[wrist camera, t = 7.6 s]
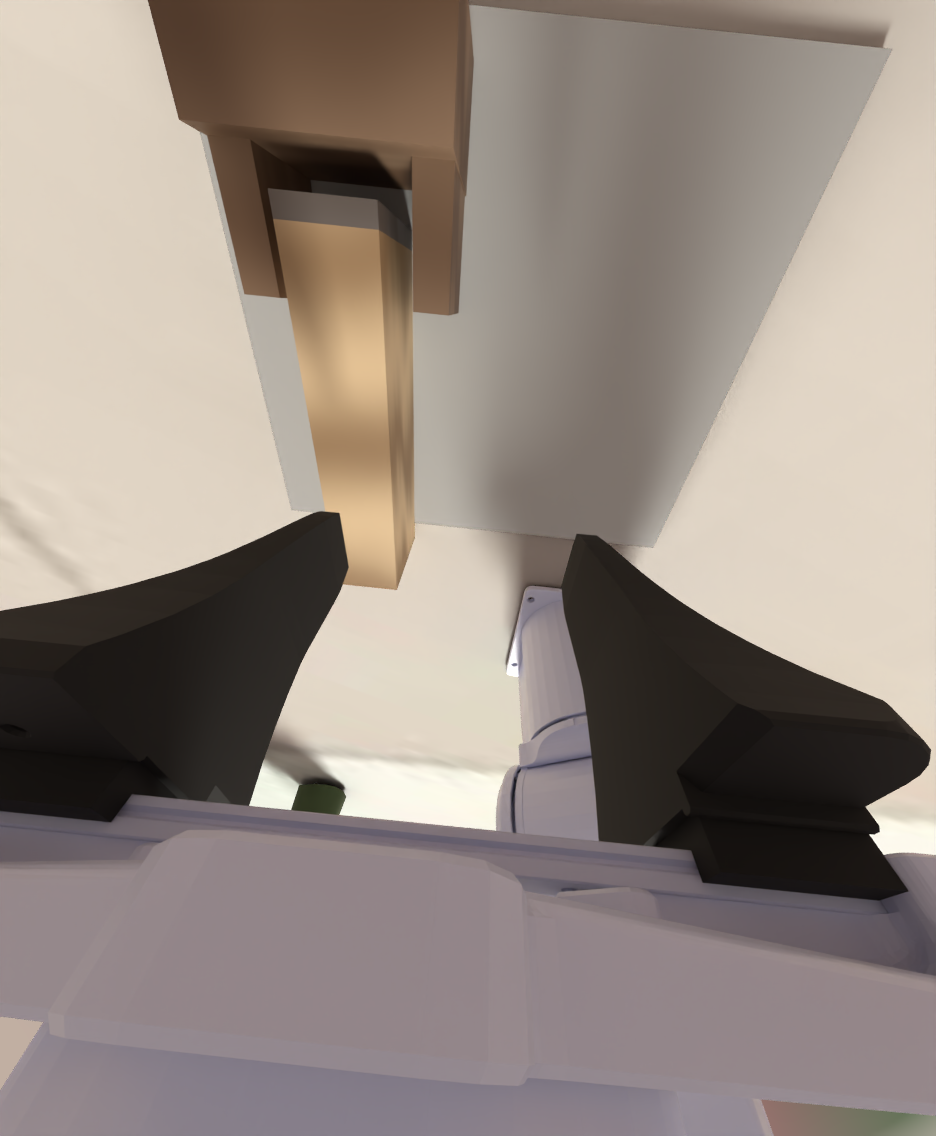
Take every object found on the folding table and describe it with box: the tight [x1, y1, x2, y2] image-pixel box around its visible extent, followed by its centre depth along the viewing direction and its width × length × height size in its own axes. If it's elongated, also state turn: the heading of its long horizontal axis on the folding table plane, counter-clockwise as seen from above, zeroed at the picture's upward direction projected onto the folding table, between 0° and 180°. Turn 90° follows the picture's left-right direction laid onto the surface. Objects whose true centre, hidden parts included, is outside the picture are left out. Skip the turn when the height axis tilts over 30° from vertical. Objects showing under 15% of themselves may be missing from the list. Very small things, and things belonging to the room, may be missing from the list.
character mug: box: [292, 783, 346, 815], centre depth 42 cm, size 11×7×13 cm, turn 28°
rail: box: [268, 188, 415, 590], centre depth 16 cm, size 14×3×5 cm, turn 175°
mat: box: [200, 5, 892, 548], centre depth 16 cm, size 18×22×1 cm
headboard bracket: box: [148, 0, 474, 316], centre depth 11 cm, size 6×7×5 cm
